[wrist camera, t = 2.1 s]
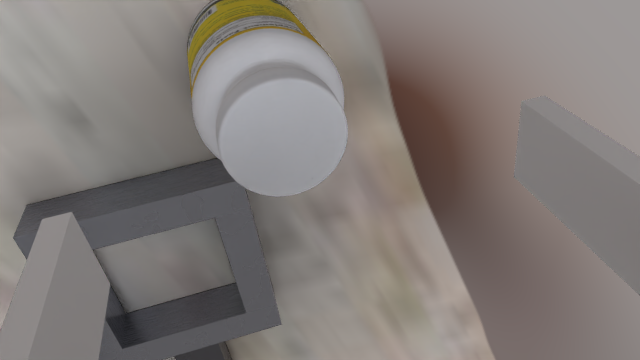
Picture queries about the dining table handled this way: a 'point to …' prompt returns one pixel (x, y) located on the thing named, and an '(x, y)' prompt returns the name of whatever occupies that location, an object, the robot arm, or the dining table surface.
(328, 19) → the dining table surface
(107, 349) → the low gray tray
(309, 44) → the pill bottle
